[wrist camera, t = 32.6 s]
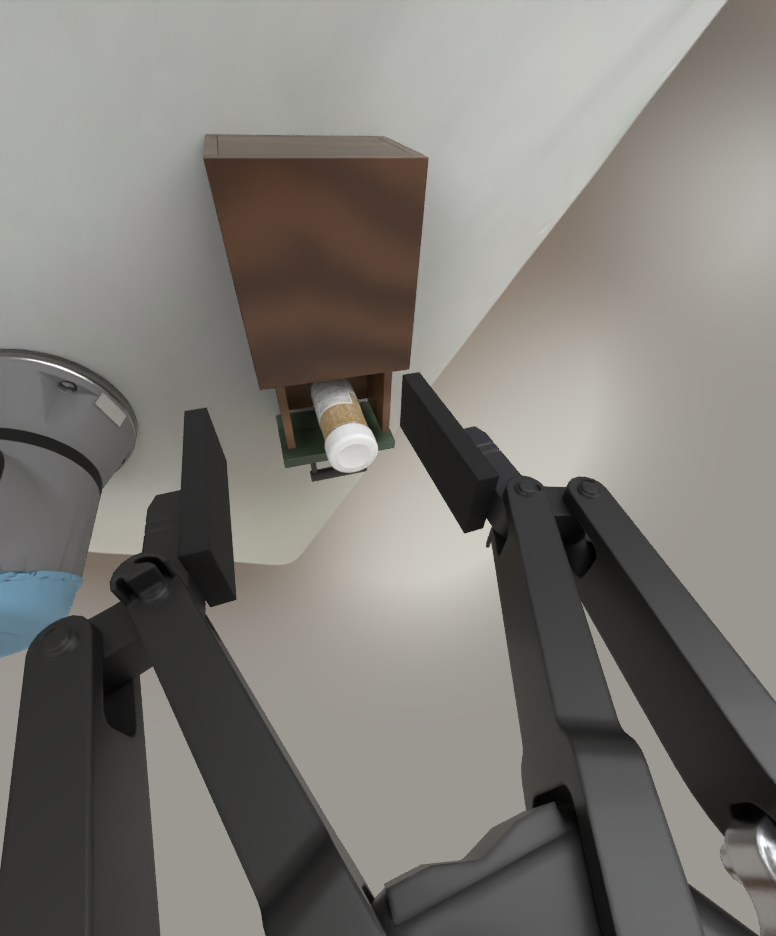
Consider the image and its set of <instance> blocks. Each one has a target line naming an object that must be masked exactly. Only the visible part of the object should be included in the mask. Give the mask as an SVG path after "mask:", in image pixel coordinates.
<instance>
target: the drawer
mask: <svg viewBox="0 0 776 936" xmlns="http://www.w3.org/2000/svg"><path fill="white" fill-rule="evenodd" d="M348 380H349V381H350V383H351V385H352V388H353V390H354V392H355V395H356V397H357V400H358V399H364V398H367V400H368V401H367V402H360V403H359V405H360V408H361V411H362V413H363V416H364V418H365V421H366V423H367V426H368V428H369V429H370V430H371V431H372V433H373V435H374V437H375V440H376V442H377V445H378V451H380V450H385V449H390V448H394V444H395V440H394V438H393V435H392V433H391V431H390V429H389V418H390V400H391V381H392V372H385V373H378V374H371V375H364V376H357V377H349V378H348ZM276 393H277V397H278V402H279V407H280V412H281V415H277V416H276V420H277V425H278V431H279V437H280V443H281V448H282V454H283V460H284V464H285V468H289V467H295V466H300V465H305V464H311V469H312V471H310V475H311V479H312V482H314V481H319V480H324V479H329V478H334V477H339V476H344V475H349V474H354V473H359V472H364V471H366V470H367V467H366V468H364V469H362V470H360V471H357V472H351V473H345V472H340V471H338V470H336V469H334V468H333V467H327V468H322V469H317V468H316V462H321V461H327V460H328V457H327V454H326V451H325V440H324V436H323V433H322V430H321V428H320V426H319V422H318V418H317V415H316V412H315V410H309V411H303V412H296V413H289V410H293V409H299V408H306V407H312V406H314V405H313V401H312V398H311V391H310V388H309V386H308V384H307V383H306V384H299V385H292V386H285V387H277V388H276Z"/></svg>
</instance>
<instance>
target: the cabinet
mask: <svg viewBox="0 0 776 936" xmlns="http://www.w3.org/2000/svg"><path fill="white" fill-rule="evenodd" d="M203 159H204V163H205V167H206V171H207V176H208V180H209V184H210V188H211V192H212V196H213V200H214V204H215V208H216V212H217V216H218V221H219V225H220V229H221V233H222V237H223V241H224V245H225V249H226V253H227V257H228V262H229V266H230V270H231V274H232V278H233V282H234V286H235V290H236V294H237V298H238V302H239V307H240V311H241V315H242V319H243V323H244V327H245V331H246V335H247V339H248V343H249V347H250V352H251V356H252V360H253V364H254V368H255V372H256V376H257V380H258V384H259V388H260V390H263V389H270V388H277V387H285V386H292V385H299V384H306V383H313V382H321V381H328V380H335V379H342V378H349V377H357V376H364V375H371V374H378V373H385V372H393V371H400V370H407V369H409V366H410V355H411V344H412V333H413V322H414V311H415V300H416V289H417V278H418V267H419V256H420V245H421V234H422V223H423V212H424V201H425V190H426V179H427V168H428V157H427V156H424V155H423V154H421V153H418V152H416V151H414V150H412V149H410V148H408V147H406V146H404V145H402V144H400V143H398V142H395V141H393V140H391V139H389V138H387V137H384V136H302V135H212V134H206V136H205V147H204V158H203Z"/></svg>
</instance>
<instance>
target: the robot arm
mask: <svg viewBox="0 0 776 936" xmlns="http://www.w3.org/2000/svg"><path fill="white" fill-rule="evenodd" d="M400 427H401V428H402V430H403V432H404V433H405V435H406V437H407V438H408V440H409V442H410V443H411V445H412V447H413V448H414V450H415V452H416V453H417V455H418V457H419V458H420V460H421V462H422V463H423V465H424V467H425V468H426V470H427V472H428V473H429V475H430V477H431V478H432V480H433V482H434V483H435V485H436V487H437V489H438V490H439V492H440V493H441V495H442V497H443V498H444V500H445V502H446V503H447V505H448V507H449V509H450V510H451V512H452V514H453V515H454V517H455V519H456V520H457V522H458V523H459V525H460V527H461V529H462V530H463V532H464V533H468V532H471V531H474V530H478V529H482V528H483V526H484V523H485V520H486V518H487V519H488V521H489V522H490V524H491V525H492V528H491V530H490V533H489V536H488V539H487V542H486V547H489V546H490V543H492V549H493V555H494V562H495V569H496V575H497V582H498V588H499V595H500V601H501V608H502V614H503V621H504V627H505V634H506V640H507V646H508V653H509V659H510V666H511V672H512V678H513V685H514V692H515V698H516V705H517V711H518V718H519V724H520V731H521V737H522V745H523V756H522V764H521V773H522V774H521V775H522V785H523V792H524V798H525V805H526V811H524V812H522V813H520V814H518V815H516V816H514V817H512V818H510V819H508V820H506V821H505V822H503V823H501V824H499V825H497V826H495V827H493V828H492V829H490V830H489V832H488V833H487V834H486V835H485V836H484V837H483V838H482V839H481V840H480V841H479V842H478V843H477V845H476V846H475V847H474V848H473V849H472V850H471V851H470V852H469V853H468V854H467V855H466V857H464V858H463V859H462V860H459V861H451V862H442V863H433V864H425V865H419V866H418V867H416V868H414V869H412V870H410V871H408V872H406V873H404V874H402V875H400V876H398V877H397V878H394V879H392V880H390V881H389V882H387V883H385V884H384V885H385V888H384V889H383V890H382V891H381V892H380V893H379V895H377V897H376V898H375V897H374V896H373V894H372V892H371V891H370V889H369V887H368V885H367V884H366V882H365V880H364V879H363V877H362V875H361V874H360V872H359V870H358V869H357V867H356V865H355V864H354V862H353V860H352V859H351V857H350V855H349V854H348V852H347V851H346V849H345V847H344V846H343V844H342V843H341V841H340V840H339V838H338V836H337V835H336V833H335V831H334V830H333V828H332V826H331V825H330V823H329V822H328V820H327V818H326V816H325V815H324V813H323V811H322V809H321V808H320V806H319V804H318V803H317V801H316V799H315V798H314V796H313V794H312V793H311V791H310V789H309V787H308V786H307V784H306V782H305V781H304V779H303V777H302V776H301V774H300V772H299V770H298V769H297V767H296V765H295V764H294V762H293V760H292V759H291V757H290V755H289V754H288V752H287V750H286V749H285V747H284V745H283V743H282V742H281V740H280V738H279V737H278V735H277V733H276V732H275V730H274V728H273V727H272V725H271V723H270V721H269V720H268V718H267V716H266V715H265V713H264V711H263V710H262V708H261V706H260V705H259V703H258V701H257V699H256V698H255V696H254V694H253V693H252V691H251V689H250V688H249V686H248V684H247V683H246V681H245V679H244V677H243V676H242V674H241V672H240V671H239V669H238V667H237V666H236V664H235V662H234V660H233V659H232V657H231V655H230V654H229V652H228V650H227V649H226V647H225V645H224V644H223V642H222V640H221V638H220V637H219V635H218V633H217V632H216V630H215V629H214V627H213V625H212V623H211V622H210V620H209V618H208V617H207V615H206V614H205V600H206V601H207V603H208V604H209V606H210V607H213V606H217V605H220V604H223V603H226V602H230V601H234V600H236V586H235V573H234V559H233V545H232V531H231V517H230V503H229V489H228V476H227V462H226V458H225V456H224V453H223V450H222V448H221V445H220V442H219V440H218V437H217V434H216V432H215V429H214V426H213V424H212V421H211V418H210V416H209V413H208V410H207V408H201V409H195V410H189V411H185V413H184V435H183V456H182V477H181V490H179V491H174V492H170V493H165V494H160V495H156V496H155V498H154V499H153V501H152V503H151V504H150V506H149V507H148V509H147V517H146V525H145V536H144V541H143V549H142V553H140V554H137V555H134V556H132V557H130V558H129V559H127V560H126V561H124V562H123V563H122V564H121V565H120V566H119V567H118V568H117V569H116V570H115V572H114V573H113V576H112V578H111V580H110V590H111V592H113V594H114V595H115V596H116V597H117V598H118V599H119V600H120V602H118V603H117V604H115V605H114V606H112V607H110V608H109V609H107V610H105V611H103V612H102V613H99V614H97V615H96V616H94V617H92V618H90V619H86V618H85V617H83V616H75V615H72V616H68V615H69V613H70V610H71V607H72V604H73V601H74V598H75V595H76V592H77V590H78V589H79V588H80V587H81V585H82V575H83V570H84V566H85V561H86V557H87V553H88V548H89V544H90V540H91V535H92V531H93V527H94V522H95V518H96V514H97V509H98V505H99V501H100V497H101V493H102V489H103V488H104V486H105V485H106V484H107V482H108V481H109V479H110V478H111V477H112V475H113V474H114V473H115V472H116V471H117V470H119V469H120V468H121V467H122V466H123V465H124V463H125V462H126V461H127V460H128V458H129V457H130V455H131V454H132V451H133V449H134V445H135V441H136V436H137V421H136V417H135V414H134V412H133V410H132V408H131V406H130V405H129V403H128V401H127V400H126V399H125V398H124V396H123V395H122V394H121V393H120V392H119V391H118V390H117V389H116V388H115V387H114V386H113V385H111V384H110V383H109V382H107V381H106V380H105V379H103V378H102V377H100V376H99V375H97V374H96V373H94V372H92V371H90V370H89V369H87V368H85V367H83V366H80V365H78V364H76V363H73V362H71V361H68V360H66V359H63V358H60V357H56V356H53V355H49V354H45V353H40V352H34V351H28V350H17V349H0V658H1V657H5V656H8V655H11V654H14V653H17V652H20V651H23V650H25V649H28V651H27V655H26V659H25V668H24V676H23V685H22V693H21V701H20V709H19V717H18V726H17V735H16V743H15V751H14V759H13V768H12V776H11V785H10V793H9V802H8V810H7V818H6V826H5V835H4V843H3V852H2V860H1V868H0V936H160V927H159V926H160V925H159V914H158V901H157V887H156V875H155V862H154V849H153V839H152V838H153V837H152V824H151V811H150V799H149V786H148V773H147V761H146V748H145V736H144V722H143V710H142V697H141V684H140V674H142V673H143V672H145V671H146V670H148V669H149V668H151V667H154V670H155V672H156V674H157V676H158V678H159V681H160V683H161V685H162V687H163V690H164V692H165V694H166V696H167V699H168V701H169V703H170V706H171V708H172V710H173V712H174V714H175V717H176V719H177V721H178V723H179V726H180V728H181V730H182V732H183V735H184V737H185V739H186V741H187V744H188V746H189V748H190V750H191V752H192V755H193V757H194V759H195V761H196V764H197V766H198V768H199V770H200V773H201V775H202V777H203V779H204V781H205V784H206V786H207V788H208V791H209V793H210V795H211V797H212V799H213V802H214V804H215V806H216V808H217V811H218V813H219V815H220V817H221V820H222V822H223V824H224V826H225V828H226V831H227V833H228V835H229V838H230V840H231V842H232V844H233V847H234V849H235V851H236V853H237V855H238V858H239V860H240V862H241V864H242V867H243V869H244V871H245V873H246V875H247V878H248V880H249V882H250V885H251V887H252V889H253V891H254V894H255V896H256V898H257V901H258V903H259V907H260V910H261V915H262V921H263V928H264V931H265V935H266V936H758V935H757V934H755V933H754V932H753V931H752V930H750V929H749V928H747V927H746V926H745V925H744V924H742V923H741V922H740V921H738V920H737V919H736V918H734V917H733V916H731V915H730V914H729V913H727V912H726V911H725V910H723V909H722V908H721V907H719V906H718V905H717V904H715V903H714V902H713V901H711V900H710V899H709V898H707V897H706V896H705V895H703V894H702V893H700V892H699V891H698V890H696V889H695V888H693V887H692V886H691V885H690V884H688V883H687V880H686V877H685V874H684V871H683V868H682V865H681V862H680V859H679V856H678V853H677V850H676V848H675V845H674V841H673V838H672V836H671V833H670V830H669V827H668V824H667V821H666V818H665V815H664V812H663V809H662V806H661V803H660V800H659V797H658V794H657V791H656V788H655V785H654V782H653V779H652V776H651V773H650V770H649V767H648V764H647V762H646V759H645V757H644V755H643V752H642V750H641V749H640V747H639V746H638V744H637V743H636V741H635V740H634V739H633V738H631V737H630V736H629V735H628V734H626V733H625V732H624V730H623V729H622V727H621V725H620V723H619V721H618V718H617V715H616V711H615V708H614V705H613V702H612V699H611V696H610V692H609V689H608V686H607V683H606V680H605V677H604V673H603V670H602V667H601V664H600V661H599V658H598V654H597V651H596V648H595V645H594V641H593V638H592V635H591V632H590V629H589V626H588V623H587V619H586V616H585V613H584V610H583V606H582V604H581V602H582V603H583V605H584V607H585V609H586V610H587V612H588V614H589V616H590V617H591V619H592V621H593V623H594V624H595V626H596V628H597V630H598V632H599V633H600V635H601V637H602V638H603V640H604V642H605V644H606V646H607V647H608V649H609V651H610V653H611V654H612V656H613V658H614V660H615V661H616V663H617V665H618V667H619V669H620V670H621V672H622V674H623V675H624V677H625V679H626V681H627V683H628V684H629V686H630V688H631V690H632V692H633V693H634V695H635V697H636V699H637V700H638V702H639V704H640V706H641V707H642V709H643V711H644V712H645V714H646V716H647V718H648V720H649V721H650V723H651V725H652V727H653V728H654V730H655V732H656V734H657V735H658V737H659V739H660V741H661V743H662V744H663V746H664V748H665V750H666V751H667V753H668V755H669V757H670V758H671V760H672V762H673V764H674V766H675V767H676V769H677V770H678V772H679V774H680V775H681V777H682V779H683V780H684V782H685V783H686V785H687V787H688V788H689V790H690V792H691V793H692V794H693V796H694V797H695V799H696V800H697V801H698V803H699V804H700V806H701V807H702V808H703V810H704V811H705V812H706V814H707V815H708V817H709V818H710V819H711V821H712V822H713V823H714V824H715V826H716V827H717V828H718V829H719V831H720V832H721V833H722V834H723V836H724V837H725V844H723V845H722V847H721V850H720V855H721V861H722V863H723V865H724V867H725V869H726V870H727V872H728V873H729V874H730V875H731V876H732V878H733V879H735V880H736V881H737V882H739V883H740V884H743V886H744V888H745V889H746V891H747V892H748V894H749V895H750V898H751V900H752V902H753V905H754V907H755V909H756V912H757V916H758V920H759V924H760V936H776V702H775V700H774V699H773V698H772V697H771V695H770V694H769V693H768V691H767V690H766V689H765V688H764V686H763V685H762V684H761V683H760V681H759V680H758V679H757V677H756V676H755V675H754V674H753V672H752V671H751V670H750V669H749V667H748V666H747V665H746V664H745V662H744V661H743V660H742V659H741V657H740V656H739V655H738V654H737V652H736V651H735V650H734V649H733V647H732V646H731V645H730V643H729V642H728V641H727V640H726V638H725V637H724V636H723V635H722V634H721V632H720V631H719V630H718V628H717V627H716V626H715V625H714V623H713V622H712V621H711V620H710V618H709V617H708V616H707V614H706V613H705V612H704V611H703V610H702V608H701V607H700V606H699V604H698V603H697V602H696V601H695V599H694V598H693V597H692V596H691V594H690V593H689V592H688V591H687V589H686V588H685V587H684V586H683V584H682V583H681V582H680V580H679V579H678V578H677V577H676V575H675V574H674V573H673V572H672V570H671V569H670V568H669V567H668V565H667V564H666V563H665V562H664V560H663V559H662V558H661V557H660V555H659V554H658V553H657V551H656V550H655V549H654V548H653V546H652V545H651V544H650V543H649V541H648V540H647V539H646V538H645V536H644V535H643V534H642V533H641V531H640V530H639V529H638V528H637V526H636V525H635V524H634V523H633V521H632V520H631V519H630V517H629V516H628V515H627V514H626V512H624V510H623V509H622V507H621V506H620V505H619V504H618V503H617V501H616V500H615V499H614V497H613V496H612V495H611V494H610V492H609V491H608V490H607V489H606V488H605V487H604V486H603V485H602V484H601V483H599V482H598V481H596V480H594V479H591V478H587V477H576V478H573V479H571V481H570V482H569V483H568V485H567V487H545V486H543V485H542V484H541V483H540V482H539V481H537V480H535V479H533V478H531V477H527V476H522V475H521V474H520V473H519V472H518V471H517V470H516V468H515V467H514V466H513V465H512V464H511V463H510V461H509V460H508V459H507V458H506V456H505V455H504V454H503V453H502V452H501V451H499V448H498V447H497V446H496V445H495V444H494V443H493V441H492V440H491V439H490V437H489V436H488V435H487V434H486V433H485V432H483V431H482V430H480V429H478V428H477V427H470V428H466V429H463V428H462V426H461V425H460V424H459V422H458V421H457V420H456V419H455V417H454V416H453V415H452V413H451V412H450V411H449V410H448V408H447V407H446V406H445V405H444V403H443V402H442V401H441V400H440V398H439V397H438V396H437V394H436V393H435V392H434V390H433V389H432V388H431V387H430V385H429V384H428V383H427V382H426V380H425V379H424V378H423V376H422V375H421V374H420V373H419V372H418V373H411V374H405V375H403V380H402V398H401V417H400Z"/></svg>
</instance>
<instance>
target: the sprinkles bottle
mask: <svg viewBox="0 0 776 936" xmlns="http://www.w3.org/2000/svg"><path fill="white" fill-rule="evenodd" d="M307 384H308V386H309V388H310V391H311V398H312V401H313V405H314V408H315V412H316V415H317V418H318V422H319V426H320V428H321V430H322V433H323V436H324V440H325V451H326V454H327V457H328V460H329V463H330V464H331V466H332V467H333V468H334V469H336V470H338V471H340V472H345V473H351V472H357V471H360V470H362V469H364V468H366V467H368V466H369V465H370V464H371V463H372V462H373V461H374V460H375V458H376V456H377V454H378V445H377V442H376V440H375V437H374V435H373V433H372V431H371V430H370V429H369V428H368V426H367V423H366V421H365V418H364V416H363V413H362V411H361V408H360V405H359V403H358V400H357V397H356V395H355V392H354V390H353V388H352V385H351V383H350V381H349V380H348V378H342V379H335V380H328V381H321V382H313V383H307Z"/></svg>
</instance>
